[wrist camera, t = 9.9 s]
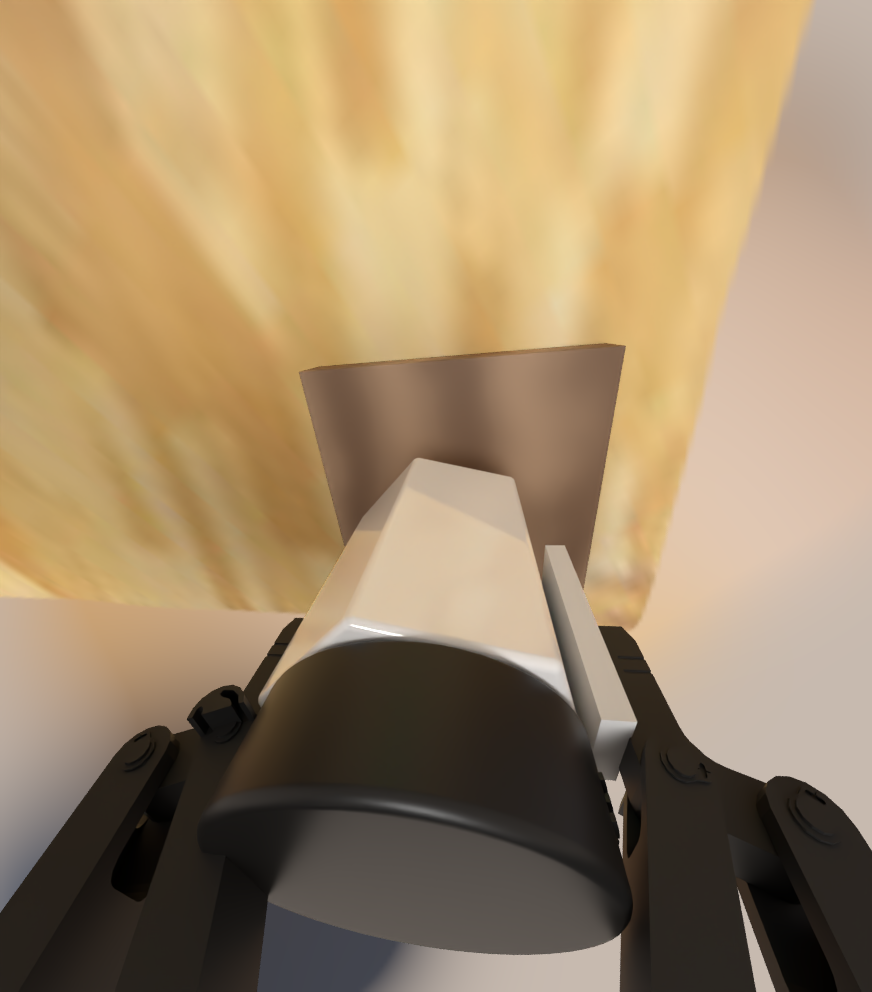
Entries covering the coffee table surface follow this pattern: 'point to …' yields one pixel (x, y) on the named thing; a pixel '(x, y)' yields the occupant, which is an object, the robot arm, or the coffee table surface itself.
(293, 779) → the jar
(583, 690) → the robot arm
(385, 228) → the coffee table surface
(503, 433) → the plinth
